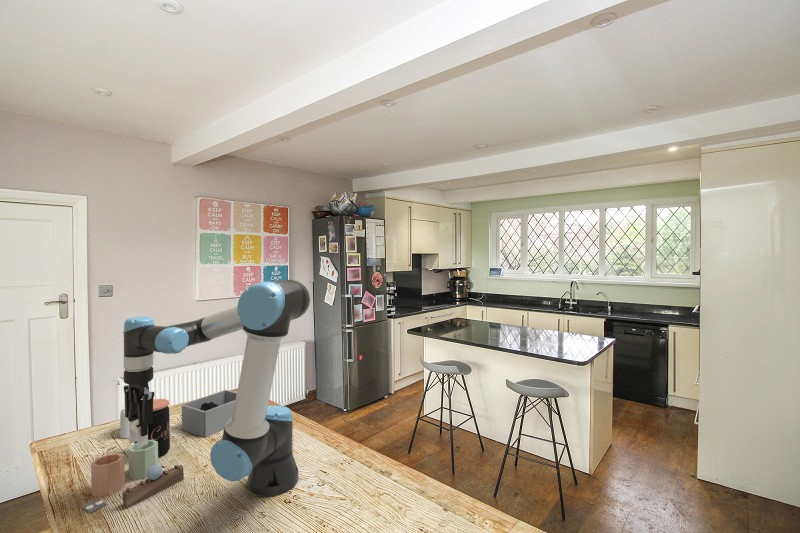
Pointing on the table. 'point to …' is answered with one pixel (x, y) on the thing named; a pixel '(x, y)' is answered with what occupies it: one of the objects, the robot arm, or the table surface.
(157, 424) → the coffee jar
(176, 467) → the rack
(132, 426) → the cream ball
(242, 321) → the robot arm
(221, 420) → the box
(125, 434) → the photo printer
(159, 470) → the blue ball
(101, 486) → the tubes
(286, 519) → the table surface
